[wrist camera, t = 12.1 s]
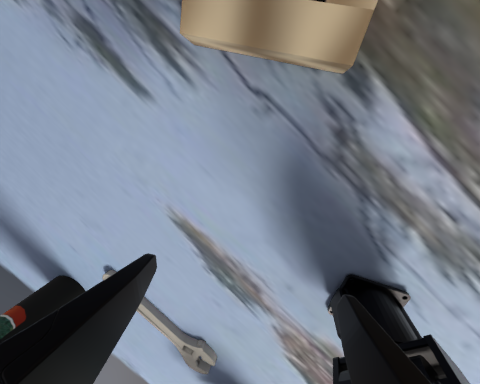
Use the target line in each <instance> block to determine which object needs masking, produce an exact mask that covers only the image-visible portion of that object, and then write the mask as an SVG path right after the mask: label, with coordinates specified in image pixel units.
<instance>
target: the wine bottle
mask: <svg viewBox="0 0 480 384" xmlns="http://www.w3.org/2000/svg"><path fill="white" fill-rule="evenodd" d="M84 292H85V290H84V289H83V287H82V286H81V285H80V284H79V283H77V282H76V281H75V280H73V279H71V278H69V277H66V276H58V277H56V278H55V279H53V280H52V281H50V282H49V283H47V284H46V285H45V286H43V287H42V288H40V289H39V290H37V291H36V292H34V293H33V294H32V295H30V296H29V297H27V298H26V299H24V300H23V301H21V302H20V303H18V304H17V305H15V306H14V307H13V308H11V309H10V310H8V311H7V312H5V313H4V314H2V315H1V316H0V343H2V342H4V341H5V340H7V339H9V338H11V337H12V336H14V335H16V334H18V333H19V332H21V331H23V330H25V329H26V328H28V327H30V326H31V325H33V324H34V323H36V322H38V321H39V320H41V319H43V318H44V317H46V316H48V315H49V314H51V313H52V312H54V311H56V310H59V308H60V307H62V306H64V305H65V304H67V303H68V302H70V301H72V300H73V299H75V298H76V297H78V296H80V295H81V294H83V293H84Z"/></svg>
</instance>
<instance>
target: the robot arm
mask: <svg viewBox="0 0 480 384" xmlns="http://www.w3.org/2000/svg"><path fill="white" fill-rule="evenodd" d="M156 269H157V263H156V256H155V255H153V254H145V255H143V256H142V257H140V258H139V259H137V260H135V261H134V262H132V263H131V264H129V265H127V266H126V267H124V268H123V269H121V270H119V271H118V272H116V273H115V274H113V275H111V276H110V277H108V278H107V279H105V280H103V281H102V282H100V283H99V284H97V285H96V286H94V287H92V288H91V289H89V290H88V291H86V292H84V293H83V294H81V295H80V296H78V297H76V298H75V299H73V300H72V301H70V302H68V303H67V304H65V305H64V306H62V307H60V308H59V310H56V311H54V312H52V313H51V314H49V315H48V316H46V317H44V318H43V319H41V320H39V321H38V322H36V323H34V324H33V325H31V326H30V327H28V328H26V329H25V330H23V331H21V332H19V333H18V334H16V335H14V336H12V337H11V338H9V339H7V340H5V341H4V342H2V343H0V384H93V383H94V381H95V379H96V378H97V376H98V375H99V373H100V371H101V369H102V368H103V366H104V364H105V363H106V361H107V359H108V358H109V356H110V354H111V353H112V351H113V349H114V348H115V346H116V344H117V342H118V341H119V339H120V337H121V336H122V334H123V332H124V331H125V329H126V327H127V326H128V324H129V322H130V321H131V319H132V317H133V315H134V314H135V312H136V310H137V309H138V307H139V305H140V303H141V301H142V299H143V297H144V295H145V293H146V291H147V289H148V287H149V285H150V282H151V280H152V278H153V276H154V274H155V272H156ZM351 279H352V280H351ZM409 300H410V296H409V294H408V293H407V292H405V291H402V290H399V289H396V288H393V287H390V286H387V285H384V284H380V283H377V282H374V281H371V280H368V279H365V278H362V277H359V276H356V275H352V274H350V275H348V276H347V277H346V279H345V280H344V282H343V284H342V285H341V287H340V288H339V289H338V290H337V292H336V293H335V295H334V297H333V298H332V300H331V302H330V305H329V307H328V313H329V314H330V315H333V317H334V321H335V326H336V330H337V334H338V336H339V338H340V339H341V341H342V347H343V351H344V356H345V357H341V358H339V357H336V358H333V384H470V383H469V382H468V380H467V379H466V377H465V376H464V375H463V373H462V372H461V371H460V369H459V368H458V367H457V366H456V364H455V363H454V362H453V361H452V360H451V358H450V357H449V356H448V355H447V354H446V352H445V351H444V350H443V349H442V348H441V346H440V345H439V344H438V343H437V342H436V340H435V339H434V338H433V337H432V335H431V334H430V335H426V336H424V338H422V337H421V336H420V334H419V332H418V331H417V329H416V328H415V326H414V324H413V323H412V321H411V320H410V318H409V316H408V315H407V313H406V312H405V310H404V308H403V307H404V306H405V305H406V304H407V302H408V301H409Z"/></svg>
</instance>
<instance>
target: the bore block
mask: <svg viewBox="0 0 480 384" xmlns="http://www.w3.org/2000/svg"><path fill="white" fill-rule="evenodd" d="M377 1H378V0H326V1H325V2H319V1H312V0H182V9H181V24H180V34H182V35H183V36H184V37H185V38H186V39H188V40H189V41H190V42H191V43H193V44H194V45H197V46H203V47H208V48H213V49H218V50H223V51H228V52H233V53H238V54H244V55H249V56H254V57H259V58H264V59H269V60H274V61H279V62H284V63H290V64H295V65H300V66H305V67H310V68H315V69H320V70H325V71H330V72H336V73H341V74H343V73H344V72H346V71H347V70H348V69H349V68H351V67H352V66H353V64H354V61H355V58H356V56H357V53H358V51H359V48H360V45H361V43H362V40H363V38H364V35H365V32H366V30H367V27H368V25H369V22H370V20H371V17H372V14H373V12H374V9H375V7H376V4H377Z"/></svg>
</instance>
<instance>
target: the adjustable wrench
mask: <svg viewBox="0 0 480 384" xmlns="http://www.w3.org/2000/svg"><path fill="white" fill-rule="evenodd" d="M115 273H116V271H114V270H109V271H108V272H107V273H105V274H104V275H103V280H105V279H107V278H108V277H110V276H111V275H113V274H115ZM136 311H137V312H139V313H140V314H141V315H142V316H143V317H144V318H145V319H146V320H148V321H149V322H150V323H151V324H152V325H153V326H154V327H155V328H157V329H158V330H159V331H160V332H161V333H162V334H163V335H165V336H166V337H167V338H168V339H169V340H170V341H171V342H172V343H173V344H174V345H175V346H176V347H177V349H178V350H179V352H180V353H181V355H182V357H183V359H184V360H185V362H186V364H187V365H188V366H189V367H190V368H192V369H193V370H195V371H197V372H199V373H202V374H208V373H209V370H210V367H211V365H212V366H214V365H215V363H216V359H217V355H216V353H215V352H214V350H213V349H212V348H211V347H210V346H209V345H207V344H206V341H202V340H197V339H194V338H192V337H190V336H188V335H186V334H185V333H183V332H182V331H181V330H180V329H179V328H178V327H177V326H176V325H174V324H173V323H172V322H171V321H170V320H169V319H168V318H167V317H166V316H165V315H163V314H162V313H161V312H160V311H159V310H158V309H157V308H156V307H155V306H154V305H152V304H151V303H150V302H149V301H148V300H147V299H146V298H145V297H143V299H142V301H141V303H140V305H139V307H138V309H137V310H136ZM199 356H201V357H202V360H201V359H200V357H199ZM206 362H207V363H206ZM208 363H209V364H208Z"/></svg>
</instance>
